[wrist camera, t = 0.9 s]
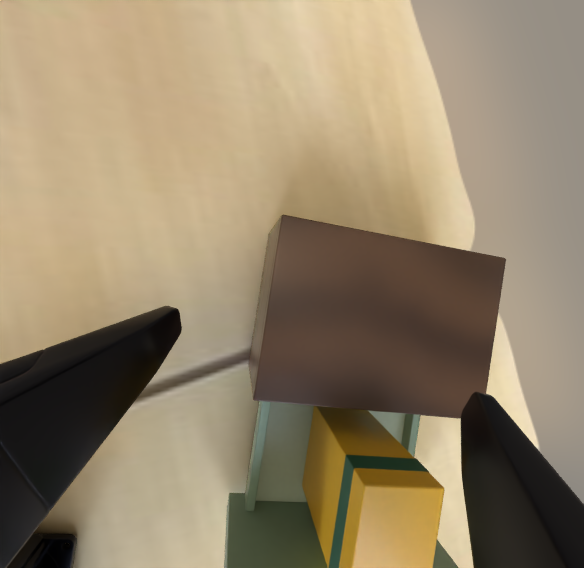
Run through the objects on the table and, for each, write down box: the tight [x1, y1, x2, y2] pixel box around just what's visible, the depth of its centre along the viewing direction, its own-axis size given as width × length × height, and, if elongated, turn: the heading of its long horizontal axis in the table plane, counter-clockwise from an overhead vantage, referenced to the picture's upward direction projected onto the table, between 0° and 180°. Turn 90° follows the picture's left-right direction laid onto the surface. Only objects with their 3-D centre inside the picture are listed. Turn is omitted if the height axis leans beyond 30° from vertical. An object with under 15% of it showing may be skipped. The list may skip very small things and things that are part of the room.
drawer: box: [224, 401, 458, 568], centre depth 21 cm, size 14×14×6 cm
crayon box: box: [302, 406, 444, 568], centre depth 18 cm, size 6×4×9 cm, turn 171°
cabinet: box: [249, 215, 506, 418], centre depth 21 cm, size 10×14×7 cm
